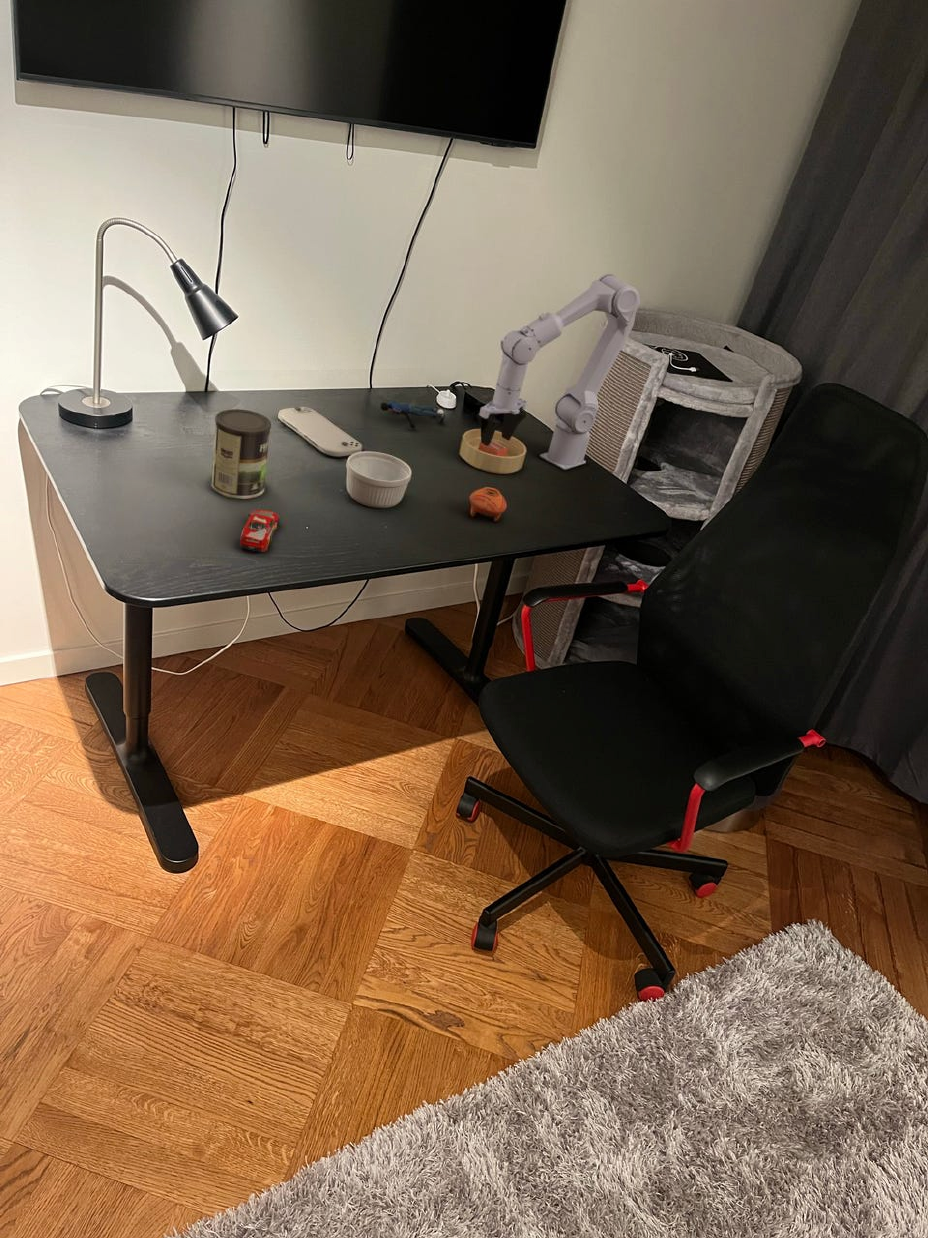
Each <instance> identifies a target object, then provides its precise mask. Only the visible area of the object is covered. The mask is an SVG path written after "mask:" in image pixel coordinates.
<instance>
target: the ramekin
mask: <svg viewBox="0 0 928 1238" xmlns="http://www.w3.org/2000/svg"><path fill="white" fill-rule="evenodd" d="M345 467H346V491H347V493H348V494H349V496H350V497H351V499H352V500H354V502H356V503H359V504H360V505H363V506H367V507H370V508H376V509H389V508H392V507H395V506H397V505H398V504H399V503H400V502H401V501H402V500H403V498H404V495H405V493H406V490H407V487H408V484H409V482H410V481H411V479H412V469H411V467H410V466H409V465H408V464H407V463H406V461H404V460H402V459H400V458H398V457H396V456H394V455H391V454H388V453H384V452H380V451H379V452H378V451H369V450H368V451H363V452H358V453H354V454H352V455H351V456H349V457H347V460H346V465H345Z"/></svg>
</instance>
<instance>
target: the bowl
mask: <svg viewBox="0 0 928 1238" xmlns="http://www.w3.org/2000/svg"><path fill="white" fill-rule="evenodd" d="M492 440H493V441H495V442H497V443H498V444H500V445H502V446H504V447H505V448H507V449H508V452H507V456H506V457H504V456H497V455H492V454H488V453H485V452H483V451H480V450H478V448H479V444H480V442H481V429H480V428H473V429H469V430H466V431H464V433H463V435H462V438H461V443H460V446H459V455H460V457H461V458H462V460H464V461H465V462H466V463H467V464H469V466H472V467H473V468H476V469H478V470H480V471H483V472H486V473H490V474H499V475H508V474H513V473H516V472H519V471H520V470H521V469H522V468H523V465H524V462H525V458H526V455H527V447H526V446H525V444H524V443H523V442H522V441H521V440H519V439H518V438H516V437H514V436H512V437H511V439H510V440H506V439H504V438H502V431H499V430H495V432H494V435H493V438H492Z"/></svg>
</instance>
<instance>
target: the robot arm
mask: <svg viewBox="0 0 928 1238" xmlns="http://www.w3.org/2000/svg"><path fill="white" fill-rule="evenodd" d="M641 303H642V301H641V297H640V295H639V290H638V289H637V288H636V287H634V286H633V285H630V284H628V283H626V282H625V281H623V280H621V279H620V278H618V277H617V276H616V275H615V274H612V273H605V274H603V275H601V276H600V277H599V278H598V279H596V280H593V281H592V282H591V283H590V286H589V287H588V289H586V290H585V291H583V293H581V294H580V295H578V296H577V297H576V298H574V299H573V300H572V301H571V302H569V303H568V304H566V305H565V306H564V307H563V308H561V309H559V310H558V311H557V312H555V313H553V312H546V313H544V312H542V313H541V314H539V315H538V318H536V319H535V320H533V321H532V322H530V323H528V324H527V325H524V326H522V327H521V328H520V329H519V330H518V329H517V330H514V329H513V330H511V331H509V332H507V334H506V335H504V338H503V340H500V349H501V351H502V355H501V362H500V367H499V372H498V374H497V375H498V376H497V379H496V384H495V388H494V392H493V397H492V400H490V401H489V402H488V403H487V404H485V405H484V406H481V407H480V410H479V411H478V412H477V416H476V417H477V419H478V423H479V429H481V443H482V444H484V445H486V446H489V445H490V443H491V441H492V438H493V435H494V432H495V431H497V429H498V427H499V426H500V424H501V421H500V420H498V419H497V418H496V416H497V415H500V414H503V422H502V423H503V424H502V429H501V432H502V438H504V439H506V440H510V439H511V437H513V435H514V434H515V431H516V429H517V428H518V426H519V425H520V423H522V421H523V420H524V419H525V418H526V416H527V412H525V410H526V407H527V403H528V401H526V400H525V399H523V398H520V395H521V392H522V388H523V383H524V379H525V375H526V372H527V368H528V363H531V362H532V361H534V359H535V357H536V355H537V353H539V351H540V349H542V348H544V347H545V346H547V345H548V344H550V343H551V342H553V341H554V340H556V339H558V338H559V337H561V336H562V332H563V330H564V328H565V327H566V326H568V325H570V324H572V323H574V322H575V321H578V320H579V319H581V318H583V317H585V316H587V315H588V314H591V313H592V312H595V311H596V312H602V313H605V316H606V320H607V324H606V325H605V327H604V329H603V332H602V333H601V335H600V337H599V339H598V341H597V343H596V345H595V347H594V349H593V351H592V353H591V355H590V357H589V359H588V360H587V362H586V364H585V366H584V368H583V370H582V372H581V374H580V376H579V377H578V379H577V382H576V384H574V385H572V386H568V387H567V388H566V390H565V392H564V393H563V395H561V396H560V397H559V398H558V399H557V400H556V402H555V405H554V414H555V415H556V420H555V421H556V422H555V427H554V430H553V434H552V438H551V440H550V445H549V447H548V450H547V451H548V452H544V453H540V455H539V458H541V459H543V460H545V461H547V462H548V463H550V464H552V465H554V466H555V467H558V468H559V469H562V470H564V471H566V470H568V469H572V468H575V467H578V466H581V465H585V464H586V463H587V461H586V460H585V456H586V453H587V449H588V446H589V443H590V439H591V434H590V430H591V429H592V428H593V426H594V425H595V423H596V416H597V412H598V410H599V408H600V406H599V400H598V395H599V392H600V390H601V388H602V386H603V385H604V383H605V381H606V379H607V377H608V375H609V373H610V371H611V369H612V367H613V366H614V364H615V362H616V360H617V358H618V356H619V354H620V352H621V350H622V348H623V347H624V345H625V343H626V341H627V339H628V338H629V335H630V333H631V331H632V329H633V328H634V325H635V322H636V321H635V320H636V314H637V311H638V309H639V308H640V305H641Z"/></svg>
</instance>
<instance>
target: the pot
mask: <svg viewBox="0 0 928 1238" xmlns="http://www.w3.org/2000/svg"><path fill="white" fill-rule="evenodd" d="M469 503H470V505H471V507H470V516H471V517H475V515H476V514H477V513H478V514H479V515H483V516H486V517H493V521H494V522H496V521H499V518H500V517H501V516H502V514H503V513H504V512H505V511H506V510H507V507H508V506H507V501H506V499H505V497H504V495H502V494H501V491H500V490H498V489H497V488H494V487H488V486H484V487H483V488H479V489H476V490H474V491H473V492H472V493H471V494H470V496H469Z"/></svg>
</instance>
